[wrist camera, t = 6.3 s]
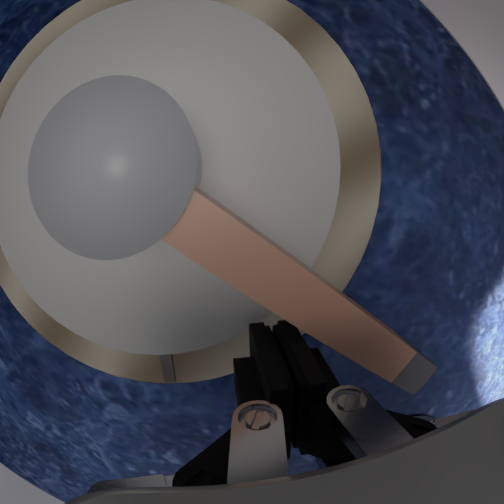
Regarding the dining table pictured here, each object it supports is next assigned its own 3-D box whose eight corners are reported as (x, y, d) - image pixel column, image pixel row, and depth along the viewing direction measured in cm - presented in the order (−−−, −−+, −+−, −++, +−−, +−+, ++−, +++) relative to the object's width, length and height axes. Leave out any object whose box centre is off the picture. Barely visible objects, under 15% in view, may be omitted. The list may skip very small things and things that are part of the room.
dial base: (428, 153, 15) (448, 152, 14) (204, 419, 18) (204, 440, 16) (148, -55, 10) (144, -72, 8) (-48, 224, 12) (-65, 229, 11)
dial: (-28, 224, 11) (-94, 245, 6) (131, -27, 9) (108, -90, 4) (289, 427, 17) (311, 494, 11) (454, 220, 15) (525, 239, 9)
